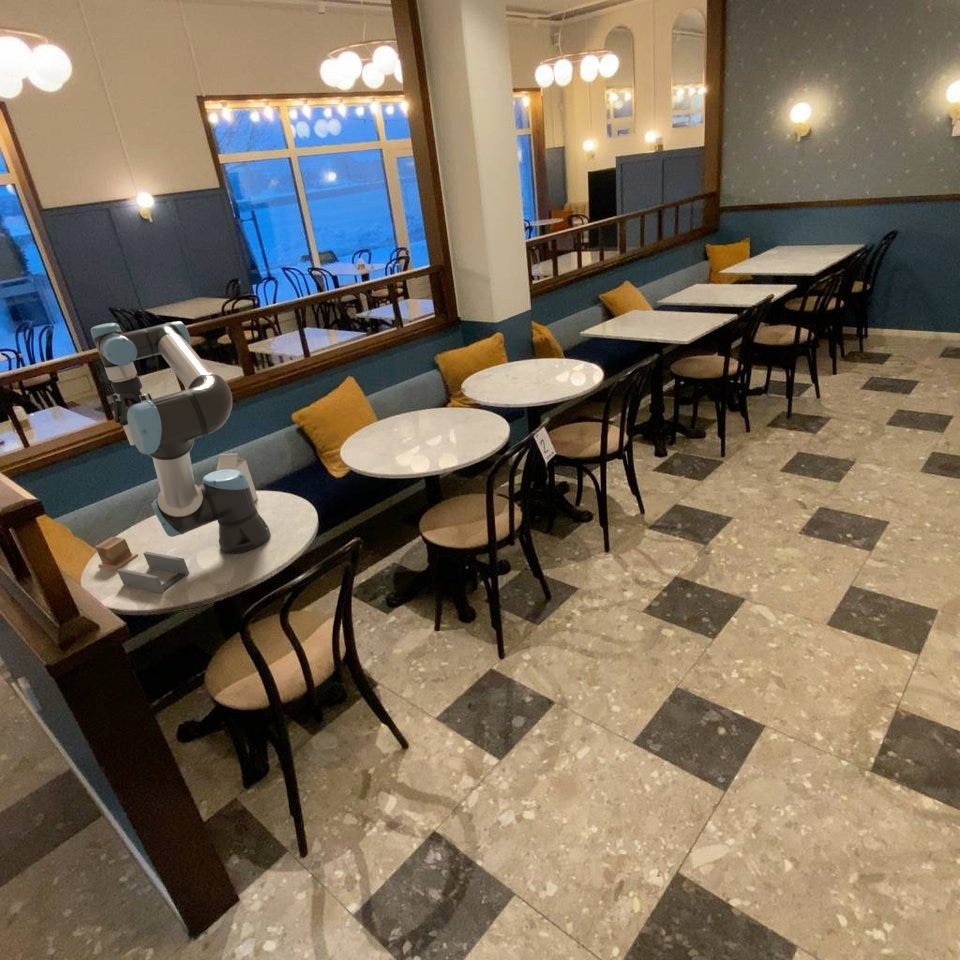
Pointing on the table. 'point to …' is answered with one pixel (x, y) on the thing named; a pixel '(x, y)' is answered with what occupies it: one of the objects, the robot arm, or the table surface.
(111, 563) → the block
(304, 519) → the table surface
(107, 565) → the tile
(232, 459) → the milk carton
